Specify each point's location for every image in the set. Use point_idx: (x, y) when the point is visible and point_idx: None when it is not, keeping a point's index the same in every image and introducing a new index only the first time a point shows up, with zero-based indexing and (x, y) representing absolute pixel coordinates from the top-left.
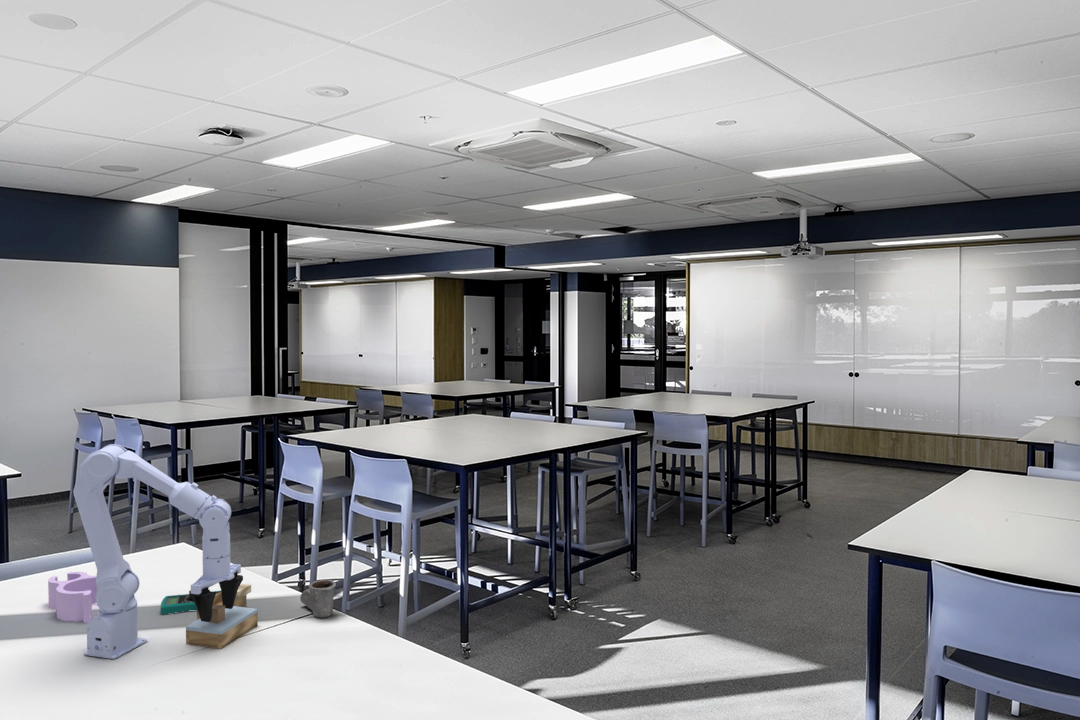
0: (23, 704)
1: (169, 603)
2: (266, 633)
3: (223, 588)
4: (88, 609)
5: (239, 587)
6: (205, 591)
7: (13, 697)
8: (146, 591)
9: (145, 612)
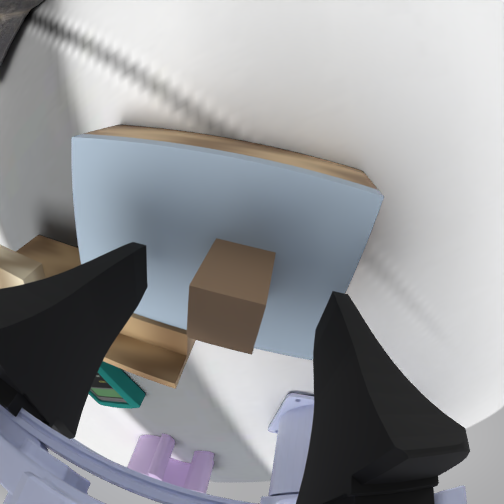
0: (493, 408)
1: (115, 396)
2: (184, 45)
3: (88, 368)
4: (206, 470)
5: (6, 287)
6: (393, 493)
7: (467, 426)
8: (88, 410)
9: (147, 411)
